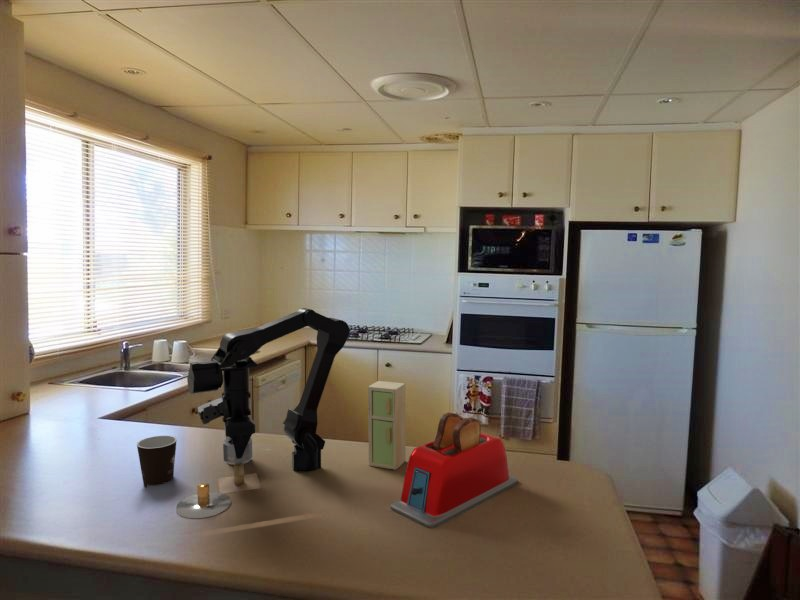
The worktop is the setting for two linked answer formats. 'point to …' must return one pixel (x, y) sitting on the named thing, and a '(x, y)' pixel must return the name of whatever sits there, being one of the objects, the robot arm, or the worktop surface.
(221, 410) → the robot arm
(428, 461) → the toaster
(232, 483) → the stand
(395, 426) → the toy refrigerator
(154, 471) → the coffee mug
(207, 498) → the disc
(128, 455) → the worktop surface
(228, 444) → the ring
